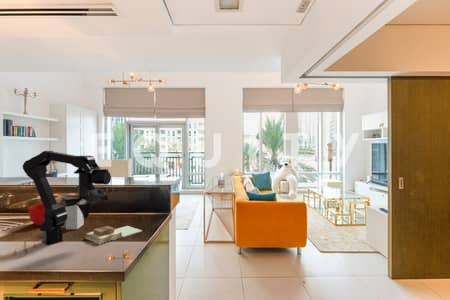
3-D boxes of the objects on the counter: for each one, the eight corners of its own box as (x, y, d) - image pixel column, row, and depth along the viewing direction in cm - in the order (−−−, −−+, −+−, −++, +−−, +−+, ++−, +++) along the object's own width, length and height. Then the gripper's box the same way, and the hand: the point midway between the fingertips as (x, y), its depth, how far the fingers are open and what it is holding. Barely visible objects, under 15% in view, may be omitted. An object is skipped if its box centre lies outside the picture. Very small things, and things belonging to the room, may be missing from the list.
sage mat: (123, 237, 124) (123, 236, 124) (108, 232, 131) (108, 231, 131) (142, 231, 133) (142, 230, 133) (127, 226, 140) (127, 225, 140)
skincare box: (77, 229, 134) (77, 201, 134) (65, 229, 134) (65, 201, 133) (83, 224, 143) (84, 198, 143) (72, 225, 142) (72, 198, 142)
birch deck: (99, 244, 115) (99, 238, 114) (85, 238, 121) (85, 233, 121) (121, 237, 123) (121, 232, 123) (107, 232, 130) (107, 227, 130)
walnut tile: (100, 236, 118) (100, 231, 118) (93, 233, 121) (93, 229, 121) (114, 232, 124) (114, 228, 124) (107, 229, 127) (107, 225, 127)
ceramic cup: (67, 219, 153) (67, 202, 153) (44, 228, 136) (44, 209, 136) (47, 218, 155) (47, 201, 154) (22, 226, 138) (22, 208, 138)
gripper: (72, 188, 103) (72, 226, 103) (115, 183, 118) (115, 216, 118) (60, 185, 109) (59, 221, 110) (102, 180, 125) (102, 212, 125)
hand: (85, 218), depth 115 cm, fingers closed
